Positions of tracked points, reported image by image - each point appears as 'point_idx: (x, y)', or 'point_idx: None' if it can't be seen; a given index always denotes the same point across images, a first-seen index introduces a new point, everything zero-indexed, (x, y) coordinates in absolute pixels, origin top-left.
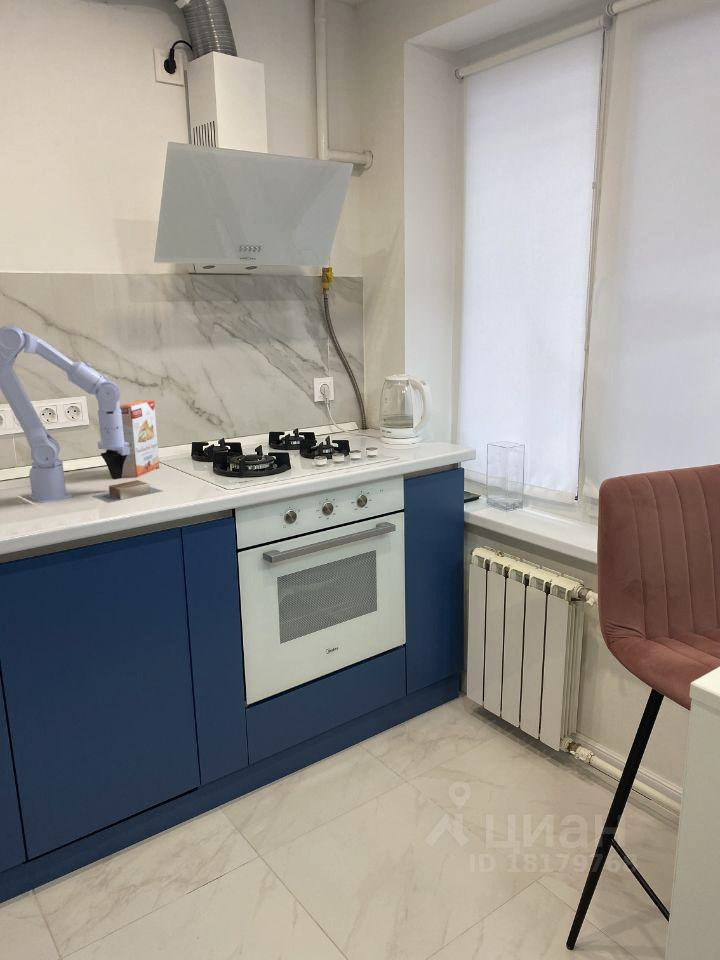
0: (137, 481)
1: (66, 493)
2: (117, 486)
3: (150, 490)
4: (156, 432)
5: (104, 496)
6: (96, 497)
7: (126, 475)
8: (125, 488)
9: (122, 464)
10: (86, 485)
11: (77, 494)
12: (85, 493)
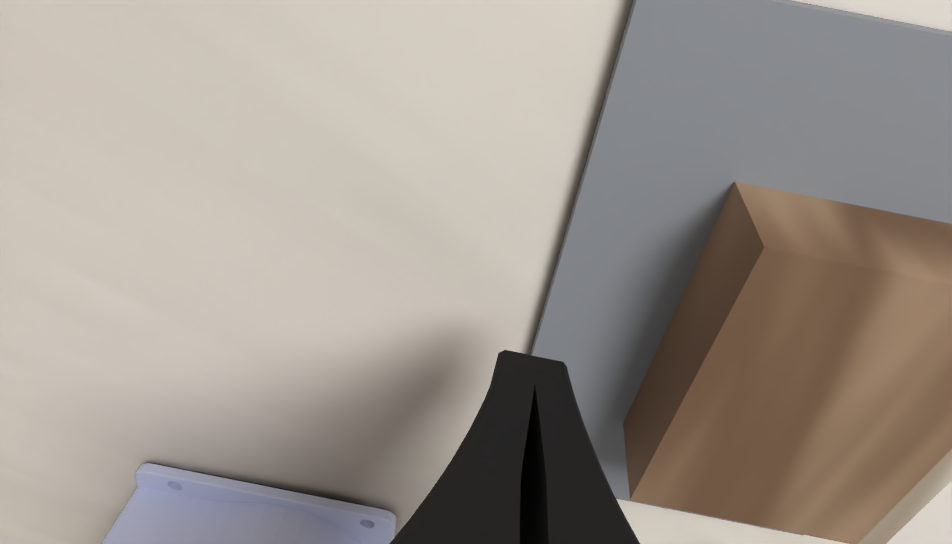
0: (821, 294)
1: (282, 500)
2: (743, 491)
3: (948, 149)
4: None
5: (614, 456)
6: None
7: None
8: (902, 513)
9: (622, 535)
10: (23, 258)
11: (310, 446)
12: (329, 414)
